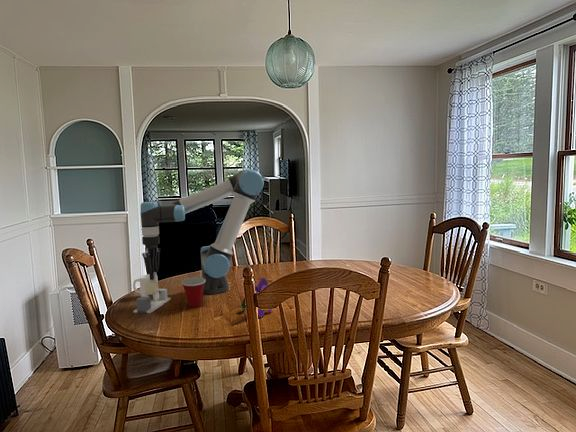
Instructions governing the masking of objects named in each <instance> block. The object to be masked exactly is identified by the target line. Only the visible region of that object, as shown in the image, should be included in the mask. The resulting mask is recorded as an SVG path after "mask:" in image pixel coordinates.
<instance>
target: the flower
mask: <svg viewBox="0 0 576 432" xmlns="http://www.w3.org/2000/svg"><path fill="white" fill-rule="evenodd" d="M267 286H268V287H269V285H268V281H267V279H266V278H265V277H262V278H260V280H259V282H258V283H257V285H255V291H256V293H258V292H260V291H261V290H262V289H264V288H265V287H267ZM240 308H241V309H242V311H244V310H246V308H247V307H246V305H245V297H243V299H242V302H241V307H240ZM246 311H247V310H246ZM266 311H267V312H269V313H270V312H271V313H272V310H261V309H258V313H257V316H258V318H259V317H261V316H263V317H264V315H265V312H266Z"/></svg>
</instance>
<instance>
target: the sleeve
mask: <svg viewBox="0 0 576 432" xmlns="http://www.w3.org/2000/svg"><path fill="white" fill-rule="evenodd" d="M145 289H146V292H145V296H150V295H153V298H152V299H151V300H150V301H151V302H157V301H158V300H159V290H158V289H159V281H158V280H157V281H148V282H146V283H145Z"/></svg>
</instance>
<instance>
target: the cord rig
mask: <svg viewBox="0 0 576 432" xmlns="http://www.w3.org/2000/svg"><path fill="white" fill-rule="evenodd" d="M158 290H159V300H158V301H157V302H151V301H150V300H151V299H152V298H153V295H150V296H146V297H141V296H140V297H138V298H136V299H135V300H136V308H135V309H134V310H133V313H134V314H135V313H136V314H137V313H139V314H140V313H141V314H151V313H153V312H155V310H157V309H159V308H160V307H162V306H163V305H164V303H165V304H166V303H168V302H169V301H171V299H172V298H171V297H169V296H168V288H158Z"/></svg>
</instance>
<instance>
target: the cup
mask: <svg viewBox="0 0 576 432" xmlns="http://www.w3.org/2000/svg"><path fill="white" fill-rule="evenodd" d="M148 281H150V275H149V273H147V274H144V275H140V276H139V278H136V279H134V281H133V283H132V288H133V289H132V290H133V291H134V292H135V293H136V294H140V297H146V296H145V292H146V289H145V283H146V282H148ZM137 282H138V283H139V289H140V290H138V289H136V284H137Z"/></svg>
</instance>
